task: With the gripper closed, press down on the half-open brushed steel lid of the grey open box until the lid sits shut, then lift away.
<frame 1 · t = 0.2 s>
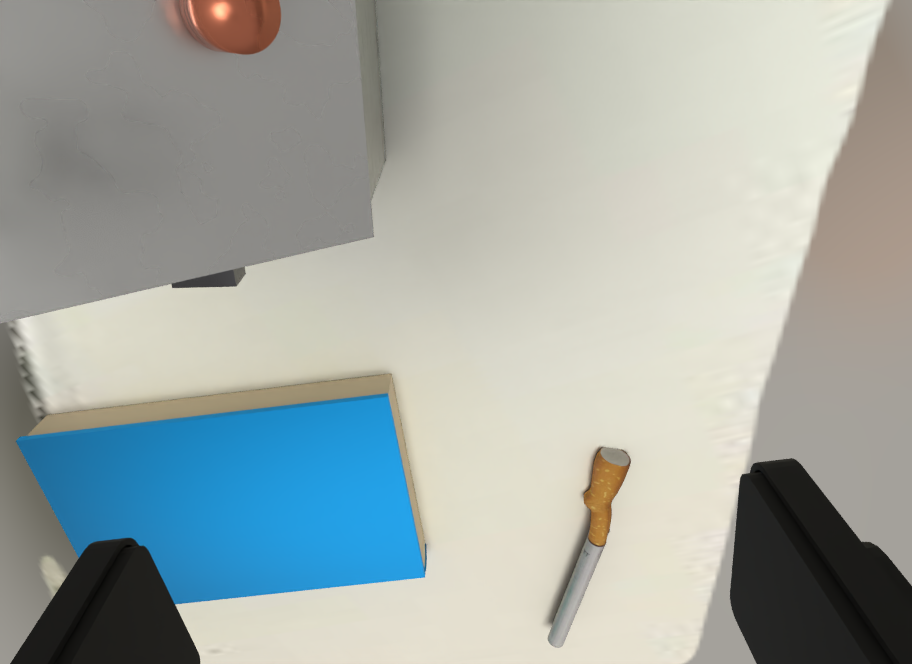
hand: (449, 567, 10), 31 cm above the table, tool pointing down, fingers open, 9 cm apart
cooker lid: (11, 13, 17), point 19 cm above the table, hinge at 35.0°
book: (251, 478, 49), on the table
grey open box: (225, 10, 34), on the table
orange and grey rod: (579, 538, 52), on the table
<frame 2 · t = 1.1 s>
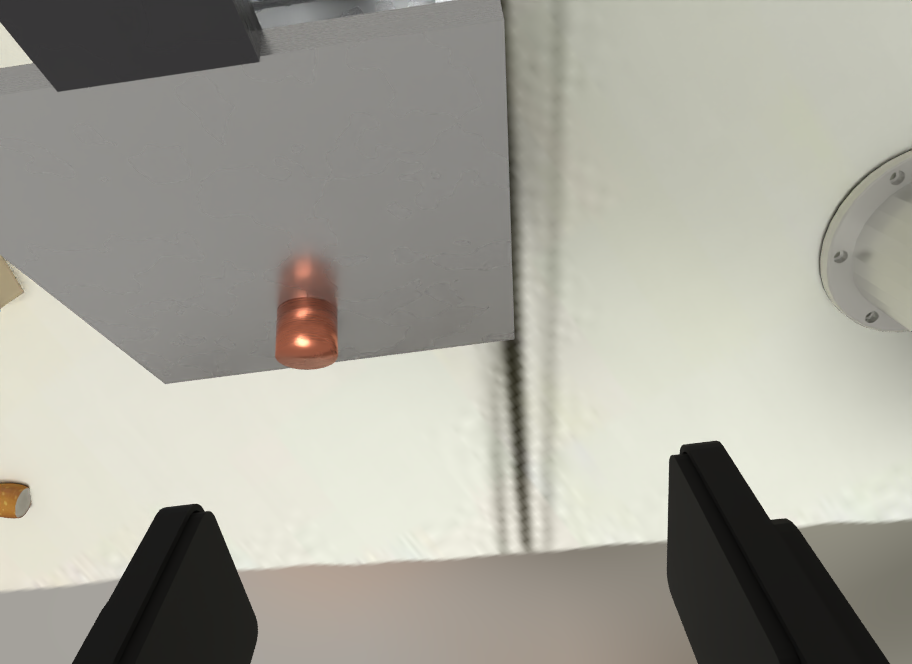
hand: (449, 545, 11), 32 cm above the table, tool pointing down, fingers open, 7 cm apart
cooker lid: (255, 242, 21), point 19 cm above the table, hinge at 35.0°
grey open box: (338, 129, 38), on the table
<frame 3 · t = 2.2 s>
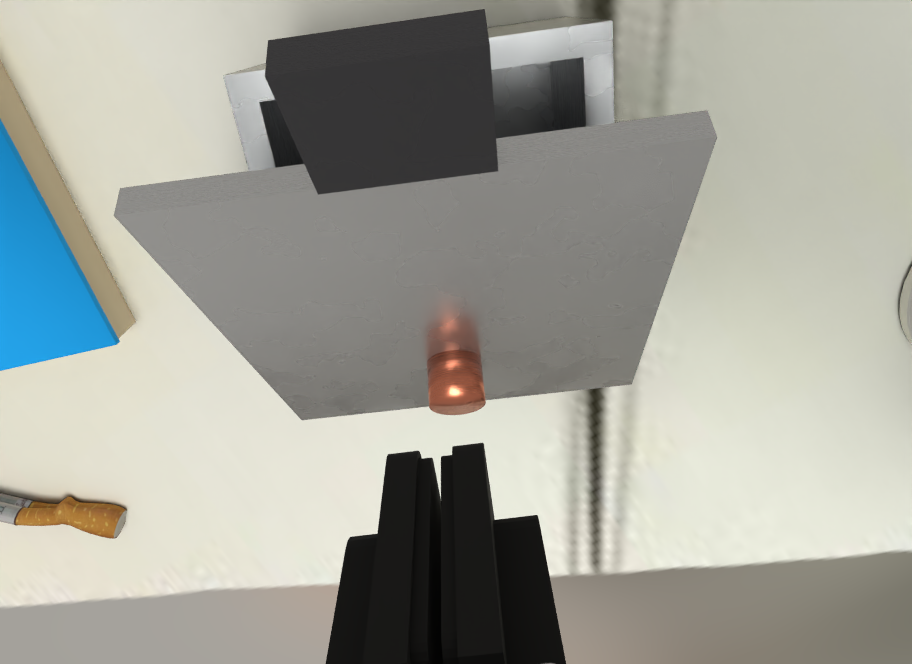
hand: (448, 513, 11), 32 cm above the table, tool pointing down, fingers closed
cooker lid: (438, 308, 23), point 19 cm above the table, hinge at 35.0°
grey open box: (445, 175, 40), on the table
orange and grey rod: (8, 487, 52), on the table
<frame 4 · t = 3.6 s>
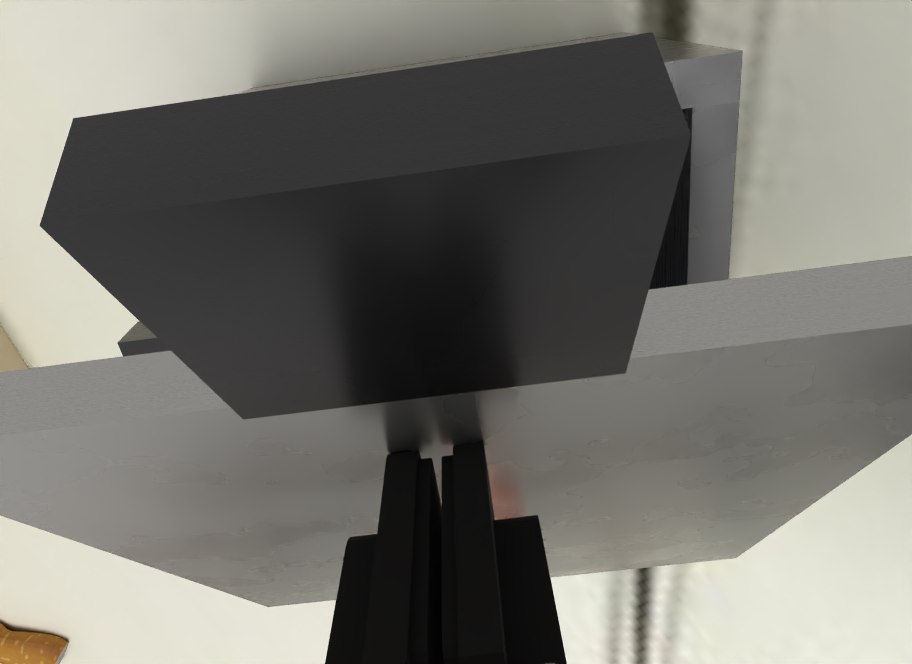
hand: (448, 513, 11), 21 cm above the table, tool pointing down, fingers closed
cooker lid: (474, 531, 14), point 19 cm above the table, hinge at 32.9°, touching gripper
grey open box: (460, 239, 31), on the table
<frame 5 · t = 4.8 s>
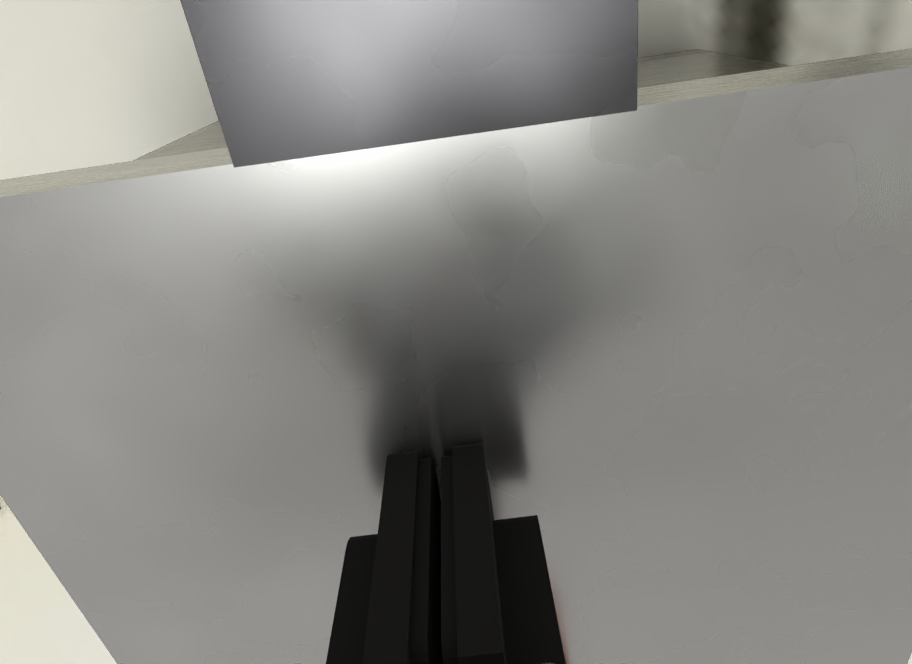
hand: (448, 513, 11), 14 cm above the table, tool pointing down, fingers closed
cooker lid: (490, 523, 11), point 14 cm above the table, hinge at 4.1°, touching gripper
grey open box: (481, 303, 25), on the table
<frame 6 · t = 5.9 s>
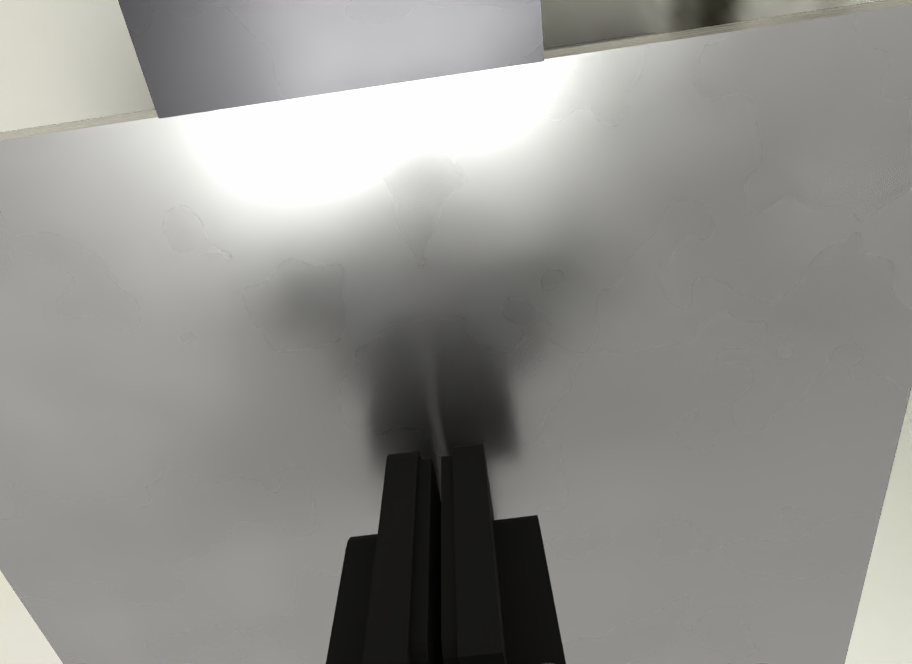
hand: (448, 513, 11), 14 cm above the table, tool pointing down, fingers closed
cooker lid: (427, 486, 11), point 14 cm above the table, hinge at 0.8°
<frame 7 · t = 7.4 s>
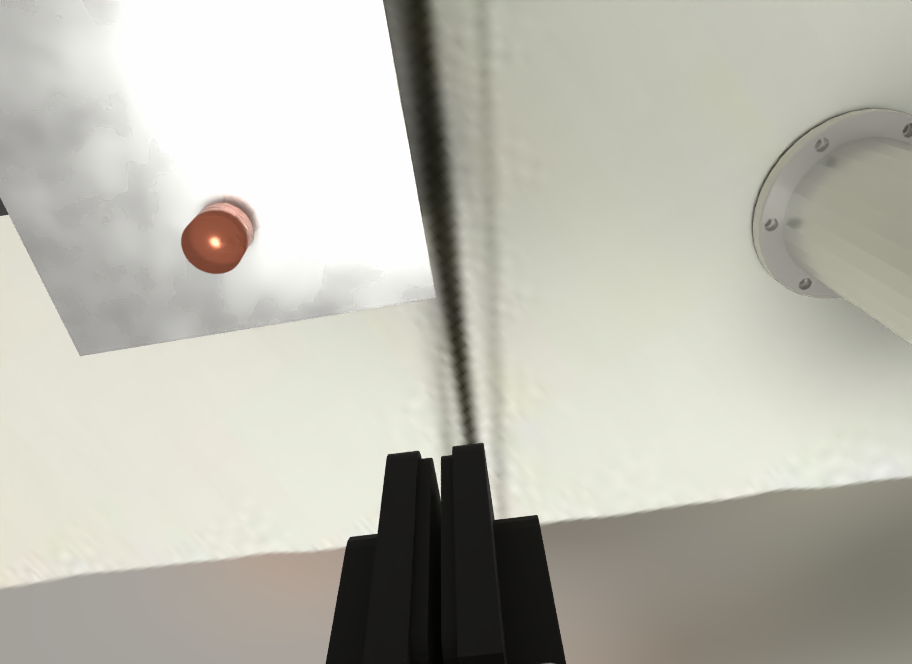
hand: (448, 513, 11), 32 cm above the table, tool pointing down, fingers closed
cooker lid: (174, 95, 24), point 14 cm above the table, hinge at 0.8°
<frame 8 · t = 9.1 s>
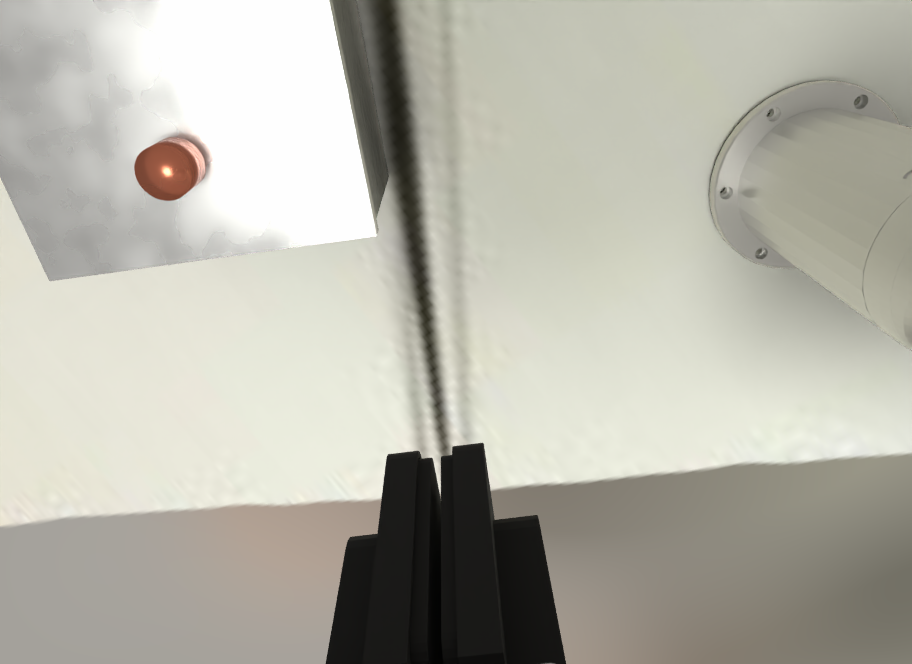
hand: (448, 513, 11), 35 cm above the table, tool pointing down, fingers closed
cooker lid: (129, 32, 27), point 14 cm above the table, hinge at 0.8°
grey open box: (239, 68, 40), on the table
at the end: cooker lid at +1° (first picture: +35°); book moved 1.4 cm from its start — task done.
